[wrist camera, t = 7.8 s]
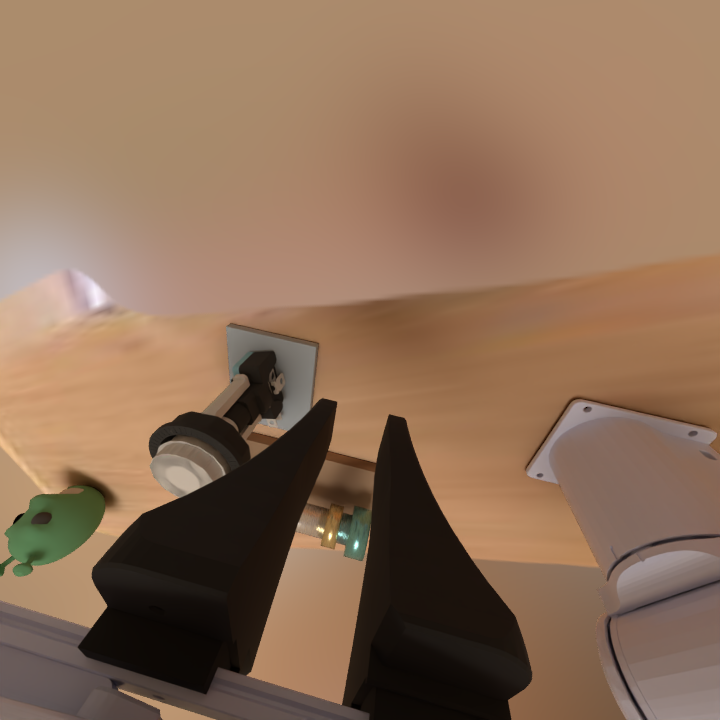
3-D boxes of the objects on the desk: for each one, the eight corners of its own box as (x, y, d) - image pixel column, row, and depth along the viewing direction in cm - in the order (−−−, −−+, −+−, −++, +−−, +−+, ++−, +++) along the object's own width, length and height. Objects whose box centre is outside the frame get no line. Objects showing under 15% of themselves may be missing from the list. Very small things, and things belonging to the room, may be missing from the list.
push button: (309, 415, 25) (252, 531, 17) (251, 415, 26) (171, 523, 18) (290, 345, 22) (209, 441, 13) (227, 347, 23) (114, 438, 14)
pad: (318, 343, 22) (316, 347, 22) (309, 430, 27) (307, 435, 26) (230, 323, 23) (226, 326, 22) (236, 412, 27) (232, 416, 27)
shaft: (373, 500, 27) (367, 545, 23) (366, 525, 29) (359, 570, 25) (222, 461, 28) (194, 499, 24) (224, 488, 30) (200, 526, 26)
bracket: (385, 466, 27) (378, 530, 22) (368, 521, 32) (358, 586, 27) (192, 417, 29) (142, 467, 23) (202, 477, 33) (162, 531, 28)
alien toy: (92, 466, 36) (-11, 552, 27) (131, 507, 39) (50, 596, 30) (54, 470, 38) (-54, 552, 29) (94, 509, 41) (8, 593, 32)
